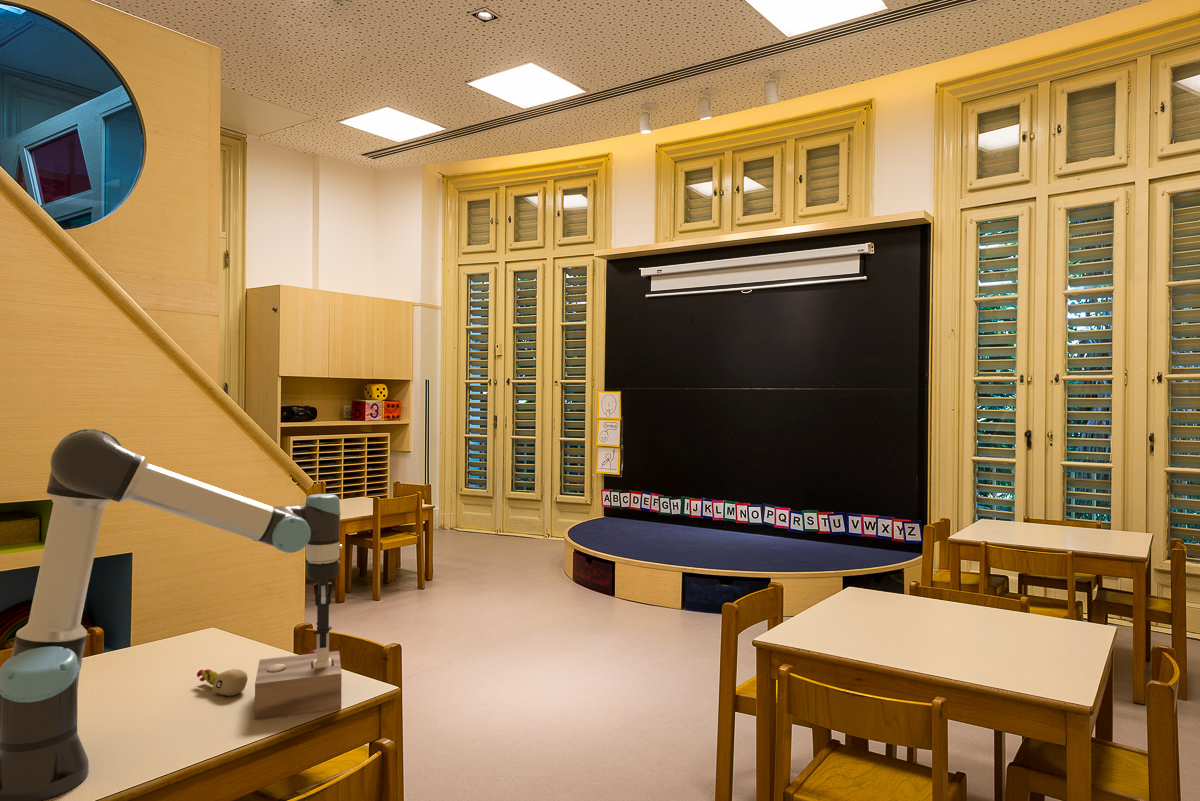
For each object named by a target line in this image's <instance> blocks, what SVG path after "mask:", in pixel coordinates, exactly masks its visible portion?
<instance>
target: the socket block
mask: <svg viewBox="0 0 1200 801" xmlns="http://www.w3.org/2000/svg"><path fill="white" fill-rule="evenodd" d="M329 658H330V659H331V666H330V667H321V668H313V661H314V660H316V659H317V653H314V654H308V653H307V654H298V655H290V656H289V655H288V656H280V657H279V656H278V657H271V658H261V659H259V660H258V666H257V672H256V678H255V681H254V721H258V720H263V719H264V720H266V719H273V718H281V717H285V716H294V715H295V716H296V715H302V714H311V713H317V712H324V711H332V710H339V709H342V681H343V680H342V678H343V677H342V676H343V675H342V664H341V655H340V650H335V651H334V650H333V651H332V652H331V651H329Z"/></svg>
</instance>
